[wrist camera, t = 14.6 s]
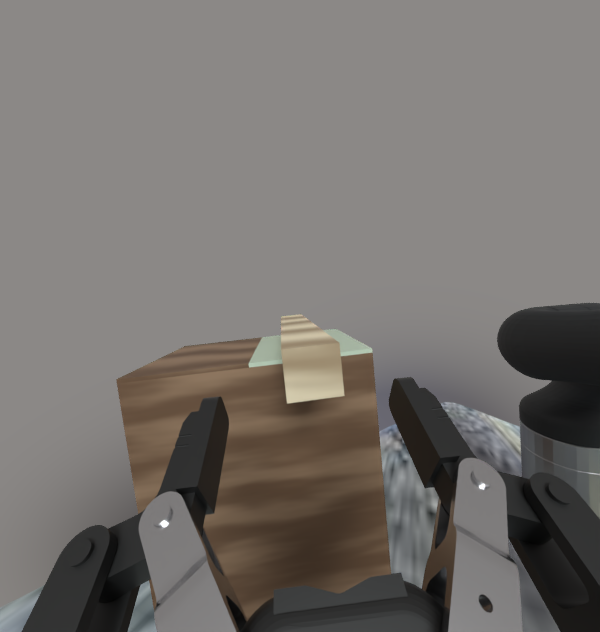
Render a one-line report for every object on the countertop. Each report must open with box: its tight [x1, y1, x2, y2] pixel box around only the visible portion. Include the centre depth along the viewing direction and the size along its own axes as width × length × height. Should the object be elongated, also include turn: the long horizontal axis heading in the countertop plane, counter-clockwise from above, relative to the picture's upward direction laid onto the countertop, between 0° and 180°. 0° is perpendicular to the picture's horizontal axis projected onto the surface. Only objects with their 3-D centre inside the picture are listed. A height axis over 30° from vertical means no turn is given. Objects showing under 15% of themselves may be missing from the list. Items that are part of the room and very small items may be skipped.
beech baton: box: [281, 314, 344, 404], centre depth 26 cm, size 26×3×3 cm, turn 5°
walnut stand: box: [117, 329, 391, 620], centre depth 32 cm, size 16×24×32 cm, turn 95°
